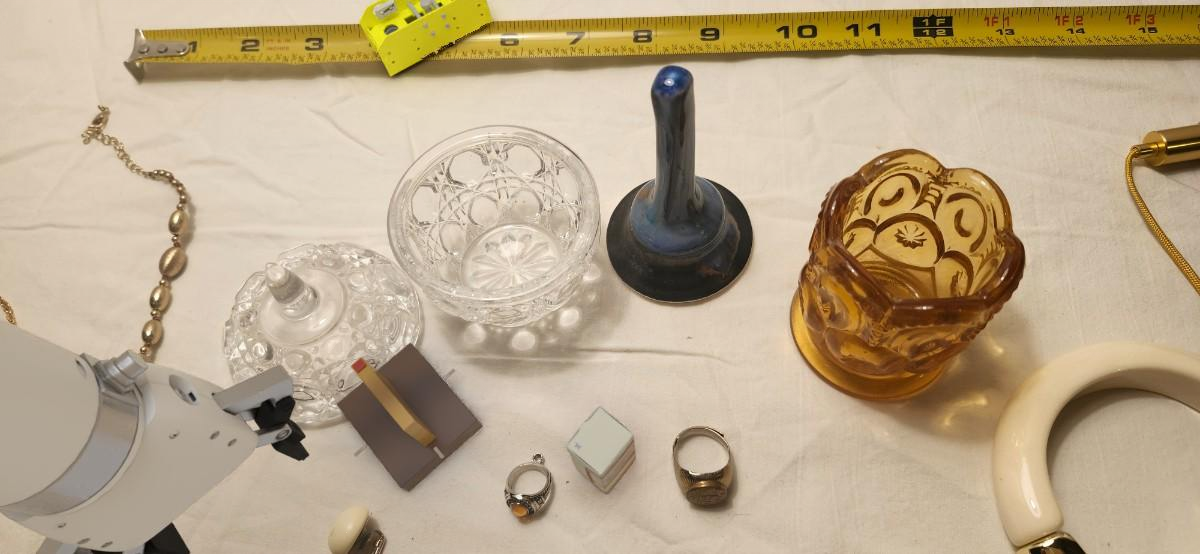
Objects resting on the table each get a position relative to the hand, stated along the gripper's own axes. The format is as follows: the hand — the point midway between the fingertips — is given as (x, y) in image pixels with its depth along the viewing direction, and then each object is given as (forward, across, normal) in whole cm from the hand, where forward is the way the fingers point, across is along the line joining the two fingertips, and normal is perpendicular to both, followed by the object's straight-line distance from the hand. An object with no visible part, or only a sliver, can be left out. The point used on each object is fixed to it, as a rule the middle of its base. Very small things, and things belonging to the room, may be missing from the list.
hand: (237, 491), depth 51 cm
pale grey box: (+26, -22, +11) cm, 36 cm away
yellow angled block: (+24, -10, -7) cm, 27 cm away
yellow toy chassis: (+26, -44, -48) cm, 70 cm away
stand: (+26, -10, -7) cm, 29 cm away
